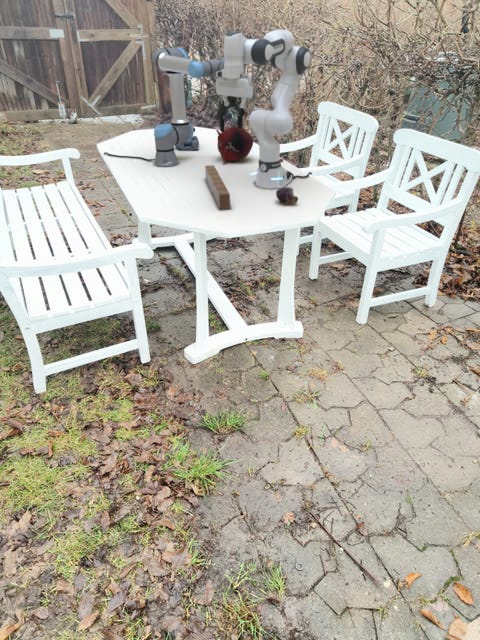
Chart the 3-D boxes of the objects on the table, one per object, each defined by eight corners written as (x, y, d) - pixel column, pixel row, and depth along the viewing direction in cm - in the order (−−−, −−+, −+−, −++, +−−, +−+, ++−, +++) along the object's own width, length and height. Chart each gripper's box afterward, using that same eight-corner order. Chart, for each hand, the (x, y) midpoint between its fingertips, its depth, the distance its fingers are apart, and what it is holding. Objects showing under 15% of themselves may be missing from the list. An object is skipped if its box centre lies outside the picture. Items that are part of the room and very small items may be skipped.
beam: (205, 179, 267) (205, 165, 262) (214, 178, 268) (214, 165, 263) (219, 210, 225) (219, 194, 221) (230, 209, 226) (229, 194, 222)
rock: (287, 200, 238) (271, 203, 234) (287, 184, 235) (271, 186, 231) (300, 203, 229) (283, 206, 225) (300, 186, 225) (283, 189, 221)
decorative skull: (214, 132, 305) (214, 129, 282) (248, 124, 304) (250, 121, 281) (221, 164, 312) (221, 164, 288) (254, 157, 311) (257, 156, 288)
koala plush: (199, 150, 321) (197, 121, 310) (174, 151, 320) (171, 121, 309) (199, 144, 335) (197, 116, 324) (175, 145, 334) (172, 117, 323)
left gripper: (217, 91, 238) (219, 134, 250) (251, 87, 252) (251, 127, 264) (208, 90, 242) (210, 132, 254) (242, 86, 256) (242, 125, 268)
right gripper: (256, 74, 199) (255, 108, 207) (222, 71, 210) (223, 103, 218) (246, 75, 195) (246, 110, 203) (213, 72, 206) (214, 105, 214)
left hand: (231, 129), depth 259 cm, fingers open, 13 cm apart
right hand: (234, 106), depth 210 cm, fingers open, 8 cm apart
